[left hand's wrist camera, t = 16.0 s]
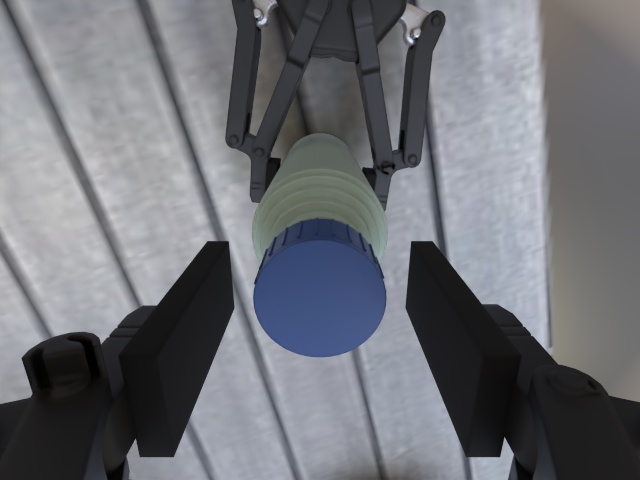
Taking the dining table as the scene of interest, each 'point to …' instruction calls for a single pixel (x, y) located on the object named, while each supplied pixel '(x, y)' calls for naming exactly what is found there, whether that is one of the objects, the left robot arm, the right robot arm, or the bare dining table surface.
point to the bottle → (319, 194)
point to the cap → (319, 289)
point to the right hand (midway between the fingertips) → (313, 246)
